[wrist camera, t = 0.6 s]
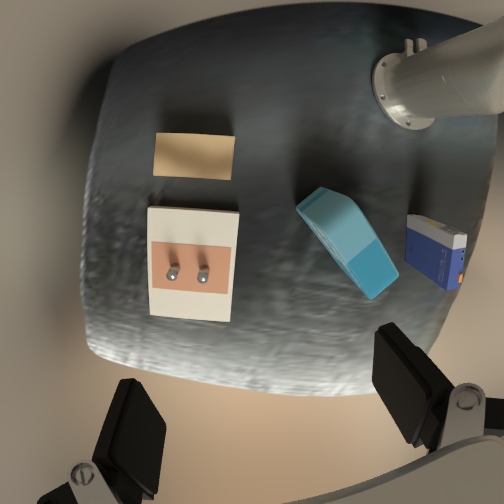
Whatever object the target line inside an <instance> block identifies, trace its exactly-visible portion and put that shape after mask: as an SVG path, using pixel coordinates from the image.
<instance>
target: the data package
mask: <svg viewBox="0 0 504 504" xmlns="http://www.w3.org/2000/svg"><path fill="white" fill-rule="evenodd" d="M296 210H297V211H298V212H299V214H300V215H301V216H302V218H303V219H304V220H305V221H306V223H307V224H308V225H309V227H310V228H311V229H312V230H313V232H314V233H315V234H316V236H317V237H318V238H319V240H320V241H321V242H322V244H323V245H324V246H325V248H326V249H327V250H328V252H329V253H330V254H331V256H332V257H333V258H334V260H335V261H336V262H337V264H338V265H339V266H340V267H341V268H342V270H343V271H344V272H345V273H346V274H347V275H348V276H349V277H350V278H351V279H352V281H353V282H354V283H355V284H356V285H357V286H358V287H359V288H360V289H361V290H362V292H363V293H364V294H365V295H366V296H367V297H368V298H369V299H373V298H374V297H376V296H377V295H378V294H379V293H380V292H382V291H383V290H384V289H385V288H386V287H387V286H389V285H390V284H391V283H392V282H393V281H394V280H395V279H397V278H398V276H399V273H398V271H397V269H396V267H395V265H394V264H393V262H392V260H391V258H390V257H389V255H388V253H387V251H386V250H385V248H384V246H383V245H382V243H381V241H380V240H379V238H378V236H377V235H376V233H375V232H374V230H373V228H372V227H371V225H370V224H369V222H368V220H367V219H366V217H365V216H364V214H363V213H362V211H361V210H360V208H359V207H358V206H357V204H356V203H355V202H354V201H353V200H352V199H351V198H349V197H348V196H345V195H343V194H340V193H337V192H334V191H332V190H329V189H326V188H323V187H319V188H318V189H317V190H315V191H314V192H313V193H312V194H311V195H309V196H308V197H307V198H306V199H304V200H303V201H302V202H301V203H299V204H298V205H297V206H296Z"/></svg>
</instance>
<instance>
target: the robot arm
mask: <svg viewBox="0 0 504 504" xmlns="http://www.w3.org/2000/svg"><path fill="white" fill-rule="evenodd" d="M415 41H416V50H417V53H414V52H413V41H412V40H410V39H405V40H404V43H405V51H404V53H392V54H389V55H386V56H384V57H383V58H381V59H380V60H379V61H378V62H377V63H376V65H375V67H374V70H373V74H372V87H373V92H374V95H375V98H376V100H377V102H378V105H379V106H380V108H381V109H382V111H383V112H384V113H385V115H386V116H387V117H388V118H389V119H390V120H391V121H392V122H394V123H395V124H397V125H398V126H400V127H402V128H405V129H409V130H420V129H424V128H426V127H428V126H430V125H431V124H432V123H433V122H434V120H435V119H436V118H441V117H453V116H468V115H492V114H499V113H501V112H503V111H504V15H503V16H501V17H500V18H498V19H496V20H494V21H492V22H490V23H488V24H486V25H484V26H482V27H480V28H477V29H475V30H472V31H470V32H467V33H465V34H462V35H459V36H456V37H454V38H451V39H449V40H446V41H444V42H441V43H439V44H436V45H434V46H431V47H429V48H427V41H426V40H424V39H422V38H417V39H416V40H415ZM372 382H373V385H374V387H375V389H376V391H377V392H378V394H379V395H380V397H381V399H382V401H383V402H384V404H385V406H386V407H387V409H388V411H389V413H390V414H391V416H392V418H393V419H394V421H395V423H396V424H397V426H398V428H399V430H400V431H401V433H402V435H403V437H404V439H405V440H406V442H407V443H408V444H411V443H412V445H413V446H414V448H417V447H419V446H420V445H422V444H424V445H425V447H426V448H427V449H428V450H427V453H426V456H423V457H421V458H419V459H417V460H415V461H413V462H411V463H409V464H407V465H404V466H402V467H400V468H397V469H395V470H393V471H390V472H388V473H385V474H383V475H380V476H378V477H375V478H373V479H370V480H367V481H365V482H362V483H359V484H356V485H353V486H350V487H347V488H344V489H340V490H337V491H334V492H330V493H327V494H323V495H319V496H315V497H312V498H307V499H303V500H298V501H294V502H289V503H283V504H504V399H498V398H487V397H485V393H484V391H483V389H481V388H480V387H479V386H477V385H476V384H472V383H463V384H460V385H458V386H457V387H454V386H453V384H452V383H451V382H450V381H449V380H448V379H447V378H446V376H445V375H444V374H443V373H442V372H441V371H440V369H438V367H437V366H436V365H435V364H434V363H433V362H432V360H431V359H430V358H429V357H428V356H427V355H426V354H425V353H424V351H423V350H422V349H421V348H419V347H417V346H415V345H414V344H413V343H412V342H411V341H410V340H409V339H408V338H407V337H406V335H405V334H404V333H403V332H402V331H401V330H400V329H399V328H398V327H397V326H396V325H395V324H394V323H393V322H391V323H388V324H385V325H382V326H380V327H379V328H378V331H376V332H375V339H374V358H373V372H372ZM165 435H166V423H165V421H164V420H163V418H162V417H161V415H160V414H159V412H158V410H157V409H156V407H155V406H154V404H153V402H152V401H151V399H150V397H149V396H148V394H147V392H146V391H145V389H144V388H143V386H142V384H141V382H139V381H137V380H136V379H134V378H130V379H121V380H120V382H119V384H118V387H117V389H116V392H115V394H114V397H113V400H112V402H111V405H110V407H109V410H108V413H107V416H106V419H105V421H104V424H103V427H102V430H101V432H100V436H99V439H98V441H97V444H96V447H95V450H94V454H93V456H92V457H93V458H92V461H90V460H80V461H77V462H76V463H74V464H73V465H72V466H71V467H70V469H69V471H68V476H67V477H68V482H67V483H65V484H63V485H61V486H59V487H58V488H56V489H54V490H52V491H51V492H49V493H47V494H46V495H43V496H42V497H41V498H40V499H39V500H38V501H37V504H141V503H142V499H143V500H154V494H157V492H158V486H159V485H158V484H159V478H160V470H161V463H162V455H163V448H164V442H165Z"/></svg>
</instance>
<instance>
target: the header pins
mask: <svg viewBox="0 0 504 504" xmlns="http://www.w3.org/2000/svg"><path fill="white" fill-rule="evenodd" d="M179 271H180V265H179V264H178V263H173V264H172V265H171V266H170V268H169V270H168V272H167V274H166V277H167V279H168V280H169V281H175V280H176V278H177V276H178V274H179ZM209 271H210V269H209V267H208V266H206V265H202V266H201V267H200V269H199V272H198V276H197V280H198V282H199V283H201V284H205V283H206V282H207V281H208V277H209Z"/></svg>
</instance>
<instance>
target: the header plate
mask: <svg viewBox="0 0 504 504" xmlns="http://www.w3.org/2000/svg"><path fill="white" fill-rule="evenodd" d="M238 221H239V212H236V211H223V210H210V209H196V208H181V207H164V206H150V207H148V227H147V246H148V284H149V303H150V315H157V316H167V317H177V318H187V319H199V320H212V321H226V322H230V312H231V300H232V288H233V276H234V265H235V253H236V242H237V232H238ZM173 263H178V264H179V265H180V271H179V274H178V276H177V278H176V280H175V281H169V280H168V279H167V277H166V274H167V272H168V270H169V268H170V266H171V265H172V264H173ZM202 265H206V266H208V267H209V269H210V271H209V277H208V281H207V282H206V283H205V284H201V283H199V282H198V280H197V276H198V272H199V269H200V267H201V266H202Z"/></svg>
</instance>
